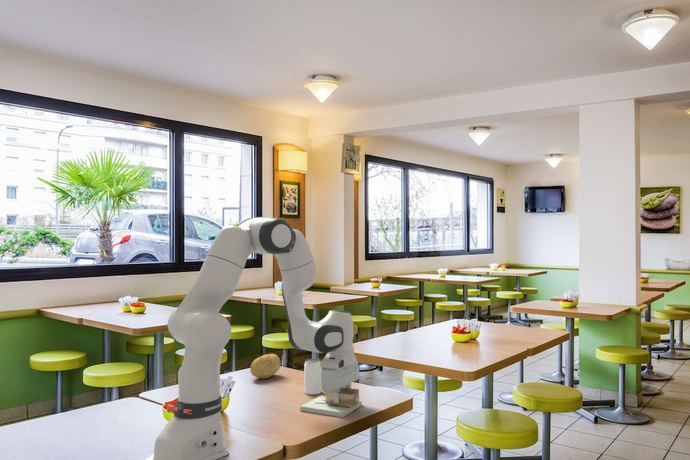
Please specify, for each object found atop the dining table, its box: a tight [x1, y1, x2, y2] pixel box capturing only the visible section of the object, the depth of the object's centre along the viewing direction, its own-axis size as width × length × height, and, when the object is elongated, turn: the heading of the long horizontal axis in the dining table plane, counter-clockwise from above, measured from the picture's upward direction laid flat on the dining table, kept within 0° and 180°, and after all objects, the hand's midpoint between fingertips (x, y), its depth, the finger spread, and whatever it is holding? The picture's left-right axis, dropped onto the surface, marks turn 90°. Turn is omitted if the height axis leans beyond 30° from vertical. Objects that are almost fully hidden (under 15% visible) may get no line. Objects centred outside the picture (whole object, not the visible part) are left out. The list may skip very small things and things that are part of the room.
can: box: [303, 358, 323, 396], centre depth 206 cm, size 6×6×12 cm
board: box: [299, 394, 363, 418], centre depth 187 cm, size 14×16×2 cm
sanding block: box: [325, 387, 360, 407], centre depth 185 cm, size 5×10×4 cm, turn 62°
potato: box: [249, 353, 281, 379], centre depth 229 cm, size 10×14×10 cm
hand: (341, 399), depth 185 cm, fingers closed on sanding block, 5 cm apart
